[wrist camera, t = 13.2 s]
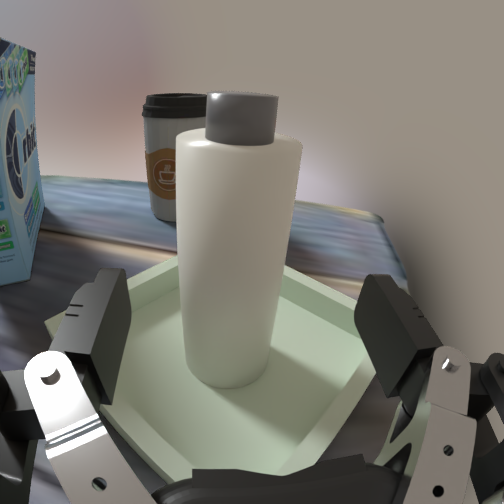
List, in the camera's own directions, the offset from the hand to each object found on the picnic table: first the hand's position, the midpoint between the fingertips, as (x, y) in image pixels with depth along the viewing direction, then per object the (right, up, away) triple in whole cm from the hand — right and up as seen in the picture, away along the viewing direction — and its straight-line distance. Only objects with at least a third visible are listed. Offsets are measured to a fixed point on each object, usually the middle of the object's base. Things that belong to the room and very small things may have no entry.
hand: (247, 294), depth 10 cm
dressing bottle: (-2, -5, +10) cm, 12 cm away
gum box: (-28, +3, +21) cm, 35 cm away
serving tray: (-2, -6, +11) cm, 13 cm away
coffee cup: (-10, +6, +31) cm, 33 cm away
